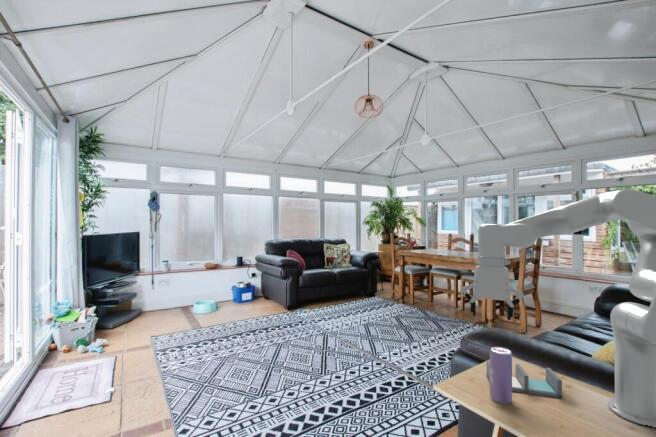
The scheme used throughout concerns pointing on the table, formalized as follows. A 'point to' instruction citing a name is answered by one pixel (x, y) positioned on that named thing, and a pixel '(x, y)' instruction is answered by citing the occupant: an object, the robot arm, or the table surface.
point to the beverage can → (501, 375)
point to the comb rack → (534, 383)
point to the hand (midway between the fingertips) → (491, 317)
